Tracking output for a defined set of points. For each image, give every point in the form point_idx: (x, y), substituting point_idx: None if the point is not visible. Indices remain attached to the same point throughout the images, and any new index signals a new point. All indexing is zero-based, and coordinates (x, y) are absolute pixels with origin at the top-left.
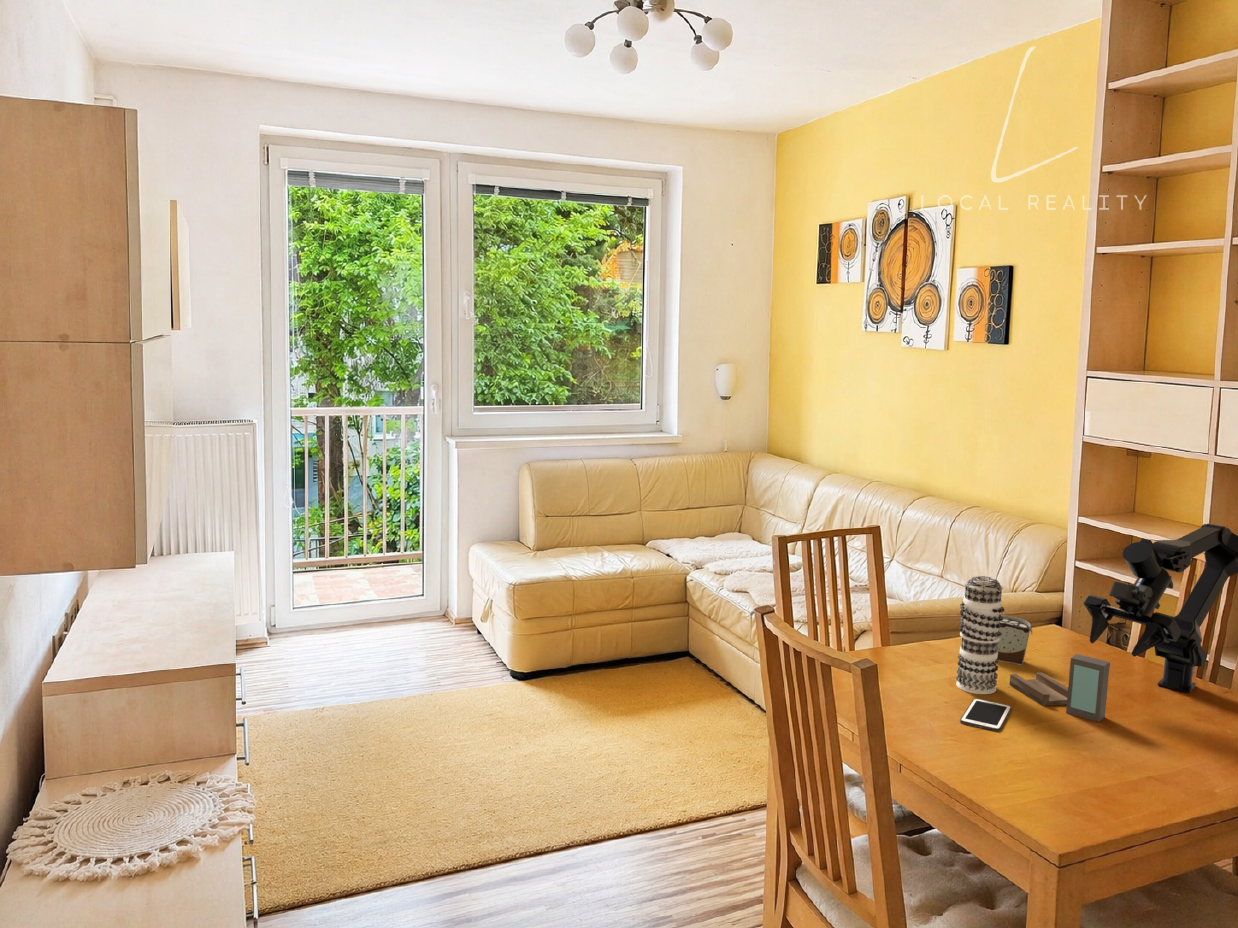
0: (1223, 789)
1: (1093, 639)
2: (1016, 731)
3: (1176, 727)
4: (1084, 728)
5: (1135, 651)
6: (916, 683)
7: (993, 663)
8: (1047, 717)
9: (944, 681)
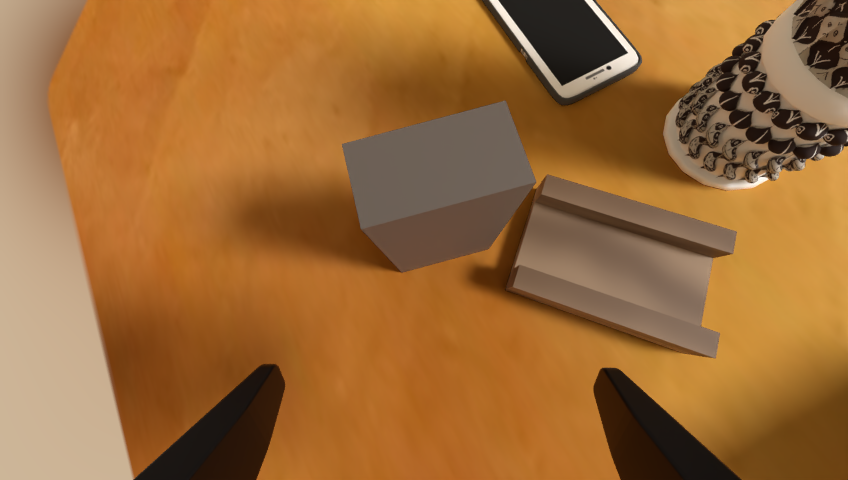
0: (65, 143)
1: (608, 398)
2: (455, 15)
3: None
4: None
5: (242, 381)
6: None
7: (750, 74)
8: None
9: None
